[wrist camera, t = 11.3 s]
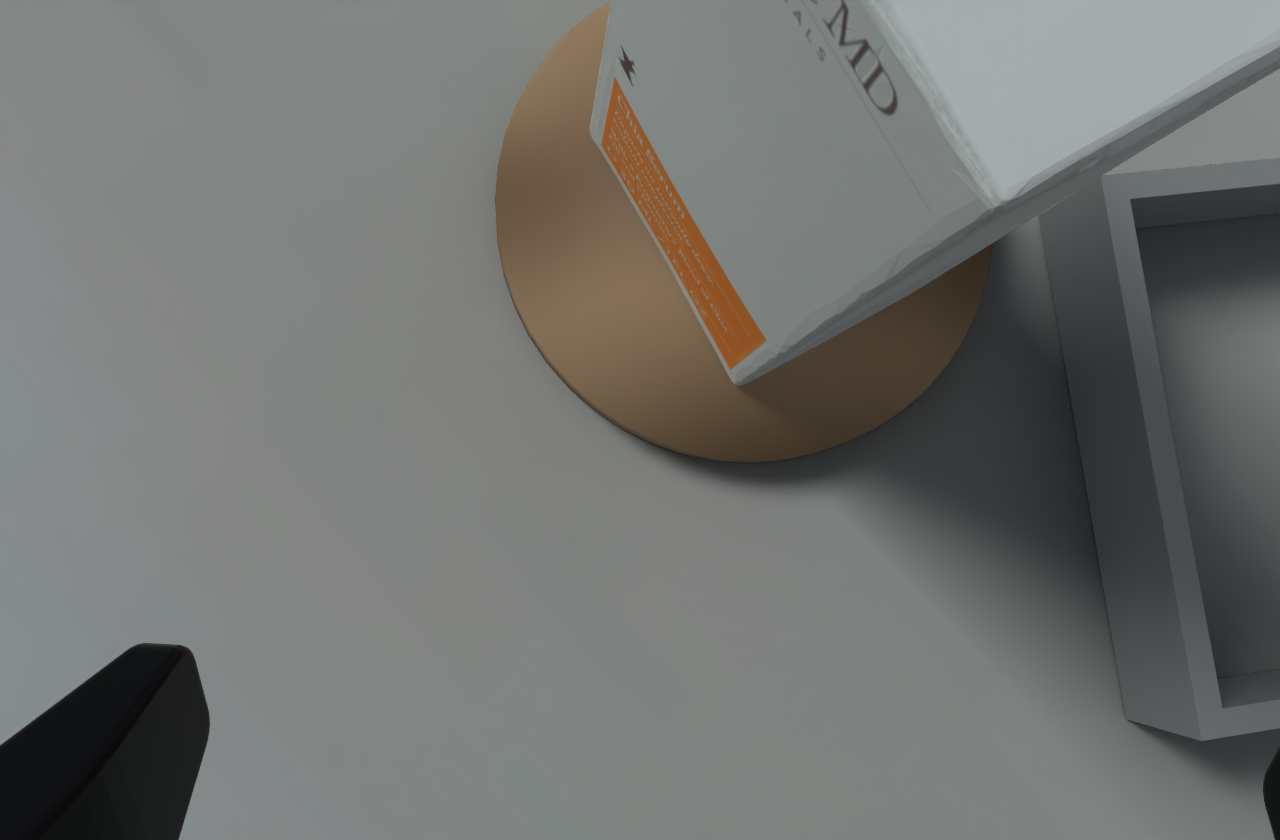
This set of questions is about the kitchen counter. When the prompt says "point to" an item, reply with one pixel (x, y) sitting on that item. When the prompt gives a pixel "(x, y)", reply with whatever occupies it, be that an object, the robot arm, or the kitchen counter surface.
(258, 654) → the kitchen counter surface
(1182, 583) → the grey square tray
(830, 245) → the skincare box
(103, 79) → the kitchen counter surface
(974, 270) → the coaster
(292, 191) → the kitchen counter surface
